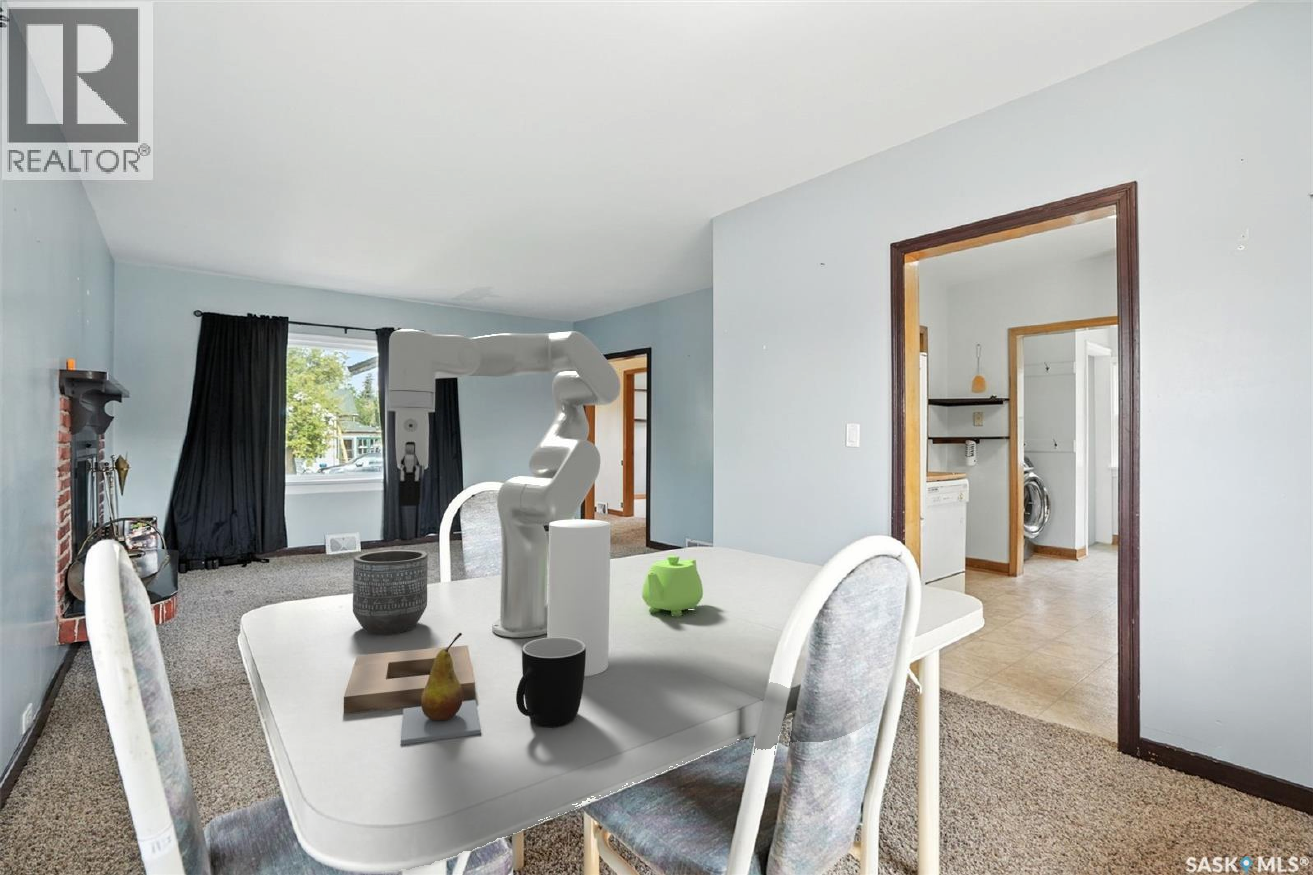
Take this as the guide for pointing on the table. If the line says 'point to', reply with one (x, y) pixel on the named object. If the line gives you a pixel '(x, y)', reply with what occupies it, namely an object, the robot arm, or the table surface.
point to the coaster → (439, 724)
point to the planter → (390, 590)
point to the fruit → (442, 688)
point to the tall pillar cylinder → (580, 587)
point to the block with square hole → (381, 693)
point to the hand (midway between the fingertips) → (410, 502)
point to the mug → (551, 680)
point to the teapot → (672, 586)
